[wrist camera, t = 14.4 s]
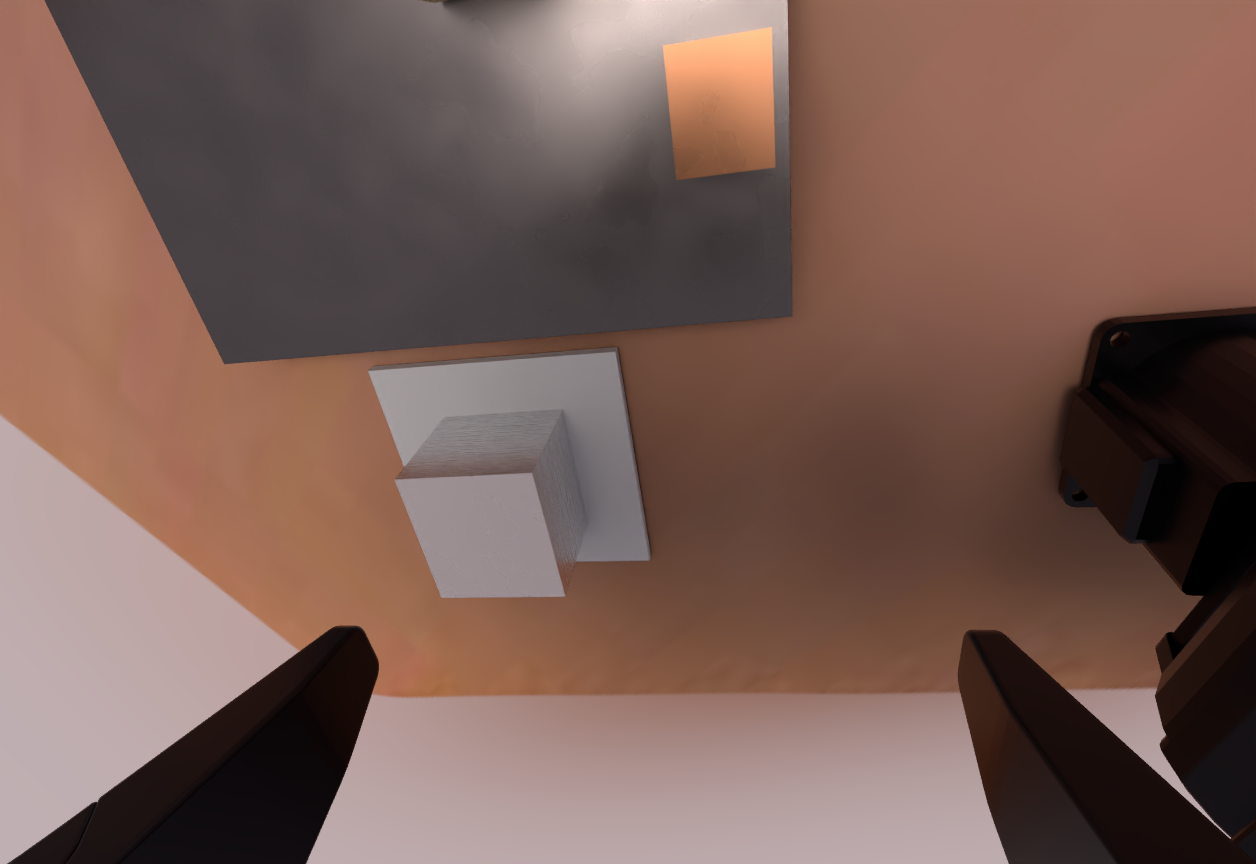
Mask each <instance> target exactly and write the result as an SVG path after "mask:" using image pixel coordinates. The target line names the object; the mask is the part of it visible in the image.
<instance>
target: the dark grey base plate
mask: <svg viewBox="0 0 1256 864" xmlns="http://www.w3.org/2000/svg"><path fill="white" fill-rule="evenodd" d="M45 2H46V4H47V6H48V8H49V10H50V12H51V14H52V16H53V18H54V20H55V22H56V24H57V26H58V28H59V31H60V33H61V35H62V37H63V39H64V41H65V43H66V45H67V47H68V49H69V51H70V53H71V55H72V57H73V59H74V61H75V63H76V65H77V67H78V69H79V71H80V73H81V75H82V77H83V79H84V81H85V83H86V85H87V87H88V89H89V91H90V93H91V95H92V97H93V99H94V101H95V103H96V105H97V107H98V109H99V111H100V113H101V116H102V118H103V120H104V122H105V124H106V126H107V128H108V130H109V132H110V134H111V136H112V138H113V140H114V142H115V144H116V146H117V148H118V150H119V152H120V154H121V156H122V158H123V160H124V162H125V164H126V166H127V168H128V170H129V172H130V174H131V176H132V178H133V180H134V182H135V184H136V186H137V188H138V190H139V192H140V194H141V196H142V198H143V201H144V203H145V205H146V207H147V209H148V211H149V213H150V215H151V217H152V219H153V221H154V223H155V225H156V227H157V229H158V231H159V233H160V235H161V237H162V239H163V241H164V243H165V245H166V247H167V249H168V251H169V253H170V255H171V257H172V259H173V261H174V263H175V265H176V267H177V269H178V271H179V273H180V275H181V277H182V279H183V281H184V283H185V286H186V288H187V290H188V292H189V294H190V296H191V298H192V300H193V302H194V304H195V306H196V308H197V310H198V312H199V314H200V316H201V318H202V320H203V322H204V324H205V326H206V328H207V330H208V332H209V334H210V336H211V338H212V340H213V342H214V344H215V346H216V348H217V350H218V352H219V354H220V356H221V358H222V360H223V362H224V364H232V363H244V362H256V361H268V360H279V359H291V358H303V357H315V356H327V355H339V354H351V353H362V352H374V351H386V350H398V349H410V348H422V347H434V346H446V345H457V344H469V343H481V342H493V341H505V340H517V339H529V338H541V337H552V336H564V335H576V334H588V333H600V332H612V331H624V330H636V329H647V328H659V327H671V326H683V325H695V324H707V323H719V322H730V321H742V320H754V319H766V318H778V317H790V316H792V262H791V199H790V136H789V73H788V10H787V0H448V1H443V2H438V3H432V2H426V1H420V0H45Z"/></svg>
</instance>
